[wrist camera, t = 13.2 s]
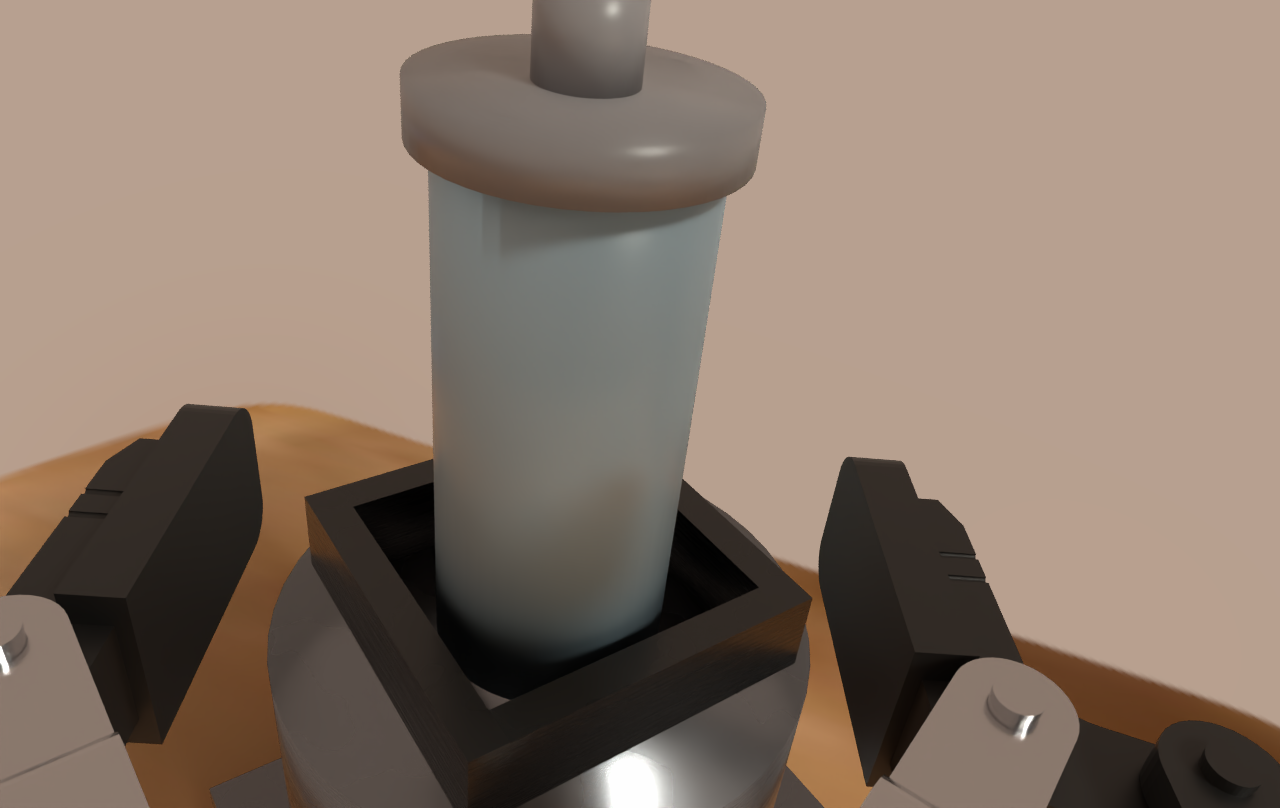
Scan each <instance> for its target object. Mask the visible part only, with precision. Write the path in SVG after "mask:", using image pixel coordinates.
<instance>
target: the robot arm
mask: <svg viewBox="0 0 1280 808" xmlns="http://www.w3.org/2000/svg"><path fill="white" fill-rule="evenodd" d="M85 489H86V491H85V494H81V495H80V496H79V498H78V499H77V500H76V502H75V503H74V504H73V506H72V507H71V508H70V510H69V515H68V517H66V516H65V517H64V518H63V519H62V521H61V522H60V523H59V525H58V526H57V527H56V529H55V530H54V531H53V533H52V534H51V535H50V537H49V538H48V539H47V541H46V542H45V543H44V545H43V546H42V548H41V549H40V550H39V552H38V553H37V554H36V556H35V557H34V558H33V560H32V561H31V562H30V564H29V565H28V566H27V568H26V569H25V570H24V572H23V573H22V574H21V576H20V577H19V579H18V580H17V581H16V583H15V584H14V585H13V587H12V588H11V589H10V591H9V592H8V593H7V595H6V596H2V597H0V808H149V805H148V803H147V800H146V798H145V795H144V793H143V790H142V788H141V786H140V783H139V781H138V778H137V776H136V773H135V771H134V768H133V766H132V763H131V761H130V758H129V756H128V753H127V751H126V748H125V745H126V743H127V742H131V743H149V744H162V743H163V741H164V739H165V737H166V735H167V733H168V731H169V729H170V727H171V724H172V722H173V720H174V718H175V716H176V714H177V712H178V710H179V707H180V705H181V703H182V701H183V699H184V697H185V695H186V693H187V690H188V688H189V686H190V684H191V682H192V680H193V678H194V676H195V674H196V671H197V669H198V667H199V665H200V663H201V661H202V659H203V657H204V654H205V652H206V650H207V648H208V646H209V644H210V642H211V640H212V638H213V635H214V633H215V631H216V629H217V627H218V625H219V623H220V621H221V618H222V616H223V614H224V612H225V610H226V608H227V606H228V604H229V601H230V599H231V597H232V595H233V593H234V591H235V589H236V587H237V585H238V582H239V580H240V578H241V576H242V574H243V572H244V570H245V568H246V565H247V563H248V561H249V559H250V557H251V555H252V553H253V551H254V549H255V546H256V544H257V541H258V538H259V534H260V529H261V523H262V514H263V501H262V492H261V485H260V478H259V470H258V463H257V456H256V448H255V441H254V434H253V426H252V420H251V417H250V414H249V412H248V411H247V410H246V409H245V408H232V407H219V406H207V405H194V404H186V405H184V406H183V407H182V408H181V409H180V410H179V412H178V413H177V414H176V416H175V417H174V419H173V420H172V422H171V423H170V424H169V426H168V427H167V429H166V430H165V432H164V433H163V435H162V436H161V438H160V439H159V440H155V439H141V438H140V439H138V440H137V441H135V442H134V443H132V444H131V445H129V446H128V447H126V448H125V449H123V450H122V451H120V452H119V453H117V454H116V455H114V456H113V457H111V458H109V459H108V460H106V461H105V463H104V464H103V465H102V467H101V468H100V469H99V471H98V472H97V473H96V475H95V476H94V477H93V479H92V480H91V481H90V483H89V484H88V486H87V487H86V488H85ZM975 555H976V554H975V551H974V549H973V547H972V545H971V542H970V540H969V537H968V535H967V533H966V531H965V528H964V526H963V525H962V524H961V523H960V522H959V521H958V520H957V519H956V518H955V517H954V516H953V515H952V514H951V513H950V512H949V511H948V510H947V509H946V508H945V507H944V506H943V505H942V504H941V503H940V502H939V501H938V500H931V499H918V497H917V494H916V492H915V489H914V487H913V484H912V482H911V479H910V477H909V474H908V472H907V469H906V467H905V465H904V463H903V462H902V461H896V460H883V459H869V458H856V457H847V458H846V459H845V460H844V462H843V464H842V466H841V470H840V472H839V477H838V480H837V484H836V488H835V491H834V495H833V499H832V503H831V506H830V510H829V514H828V518H827V521H826V525H825V529H824V533H823V537H822V540H821V545H820V552H819V583H820V588H821V593H822V597H823V601H824V606H825V610H826V614H827V619H828V623H829V627H830V632H831V636H832V640H833V645H834V649H835V653H836V658H837V662H838V666H839V671H840V675H841V679H842V684H843V688H844V692H845V696H846V701H847V705H848V709H849V714H850V718H851V722H852V727H853V731H854V735H855V740H856V744H857V748H858V753H859V757H860V761H861V766H862V770H863V774H864V779H865V783H866V786H870V787H873V788H872V790H871V791H870V793H869V794H868V796H867V797H866V799H865V800H864V802H863V804H862V805H861V807H860V808H1280V765H1279V763H1278V762H1277V761H1276V760H1275V759H1274V758H1273V757H1272V756H1271V755H1269V754H1268V753H1267V752H1266V751H1265V750H1263V749H1262V748H1261V747H1260V746H1258V745H1257V744H1255V743H1254V742H1252V741H1251V740H1249V739H1248V738H1246V737H1244V736H1242V735H1241V734H1239V733H1237V732H1235V731H1233V730H1230V729H1228V728H1225V727H1223V726H1220V725H1216V724H1213V723H1209V722H1203V721H1190V720H1189V721H1181V722H1178V723H1175V724H1172V725H1171V726H1169V727H1168V728H1166V729H1165V730H1164V732H1163V733H1162V734H1161V736H1160V737H1159V739H1158V741H1157V742H1156V744H1152V743H1149V742H1146V741H1143V740H1140V739H1137V738H1134V737H1130V736H1127V735H1124V734H1121V733H1118V732H1115V731H1112V730H1109V729H1106V728H1103V727H1099V726H1097V725H1094V724H1091V723H1089V722H1086V721H1084V720H1082V719H1080V718H1078V715H1077V713H1076V710H1075V708H1074V706H1073V704H1072V703H1071V701H1070V700H1069V698H1068V697H1067V696H1066V694H1065V693H1064V692H1063V691H1062V690H1061V689H1060V688H1059V687H1058V686H1057V685H1056V684H1055V683H1054V682H1053V681H1051V680H1050V679H1049V678H1047V677H1046V676H1045V675H1043V674H1042V673H1040V672H1038V671H1036V670H1035V669H1033V668H1031V667H1028V666H1026V665H1024V664H1023V661H1022V659H1021V657H1020V654H1019V652H1018V650H1017V648H1016V645H1015V643H1014V641H1013V638H1012V636H1011V634H1010V631H1009V629H1008V627H1007V625H1006V622H1005V620H1004V618H1003V615H1002V613H1001V611H1000V609H999V606H998V604H997V602H996V599H995V597H994V595H993V593H992V590H991V588H990V586H989V583H986V582H985V578H986V577H985V574H984V572H983V570H982V567H981V565H980V563H979V561H978V560H976V559H975Z"/></svg>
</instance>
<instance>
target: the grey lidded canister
mask: <svg viewBox="0 0 1280 808" xmlns="http://www.w3.org/2000/svg"><path fill="white" fill-rule="evenodd" d="M650 4H651V0H533V3H532V29H531V34H515V35H494V36H482V37H475V38H466V39H460V40H455V41H450V42H445V43H442V44H438V45H434V46H431V47H429V48H426V49H423V50H421V51H419V52H417V53H415V54H413V55H412V56H411V57H409V58H408V59H407V60H406V61H405V62H404V63H403V65H402V67H401V70H400V93H401V94H400V96H401V127H402V140H403V144H404V147H405V148H406V150H407V152H408V153H409V155H410V156H411V157H412V158H413V159H415V161H416V162H418V163H419V164H420V165H422V166H423V167H424V168H426V169H427V170H428V183H429V184H428V185H429V238H430V239H429V240H430V241H429V242H430V293H431V294H430V297H431V352H432V402H433V403H432V404H433V405H432V407H433V462H434V517H435V572H436V626H437V632H438V635H439V636H440V638H441V639H442V641H443V642H444V644H445V645H446V647H447V648H448V650H449V651H450V653H451V654H452V656H453V657H454V659H455V660H456V662H457V663H458V665H459V666H460V668H461V669H462V671H463V672H464V674H465V675H466V677H467V678H468V680H470V681H471V682H472V683H474V684H475V685H477V686H479V687H480V688H482V689H484V690H486V691H488V692H490V693H492V694H495V695H497V696H500V697H502V698H505V699H509V700H512V699H514V698H516V697H519V696H521V695H523V694H525V693H527V692H530V691H532V690H534V689H536V688H539V687H541V686H543V685H545V684H547V683H550V682H552V681H554V680H556V679H558V678H561V677H563V676H565V675H567V674H569V673H572V672H574V671H576V670H578V669H580V668H583V667H585V666H587V665H589V664H592V663H594V662H596V661H598V660H600V659H603V658H605V657H607V656H609V655H611V654H614V653H616V652H618V651H620V650H622V649H625V648H627V647H629V646H631V645H634V644H636V643H638V642H640V641H642V640H645V639H647V638H649V637H651V636H653V635H656V634H658V631H659V624H660V618H661V612H662V605H663V599H664V593H665V586H666V580H667V573H668V567H669V561H670V554H671V548H672V541H673V535H674V529H675V522H676V516H677V509H678V503H679V497H680V490H681V484H682V477H683V471H684V464H685V458H686V451H687V446H688V439H689V433H690V426H691V420H692V413H693V407H694V401H695V394H696V388H697V382H698V375H699V369H700V363H701V356H702V350H703V343H704V337H705V330H706V324H707V318H708V311H709V305H710V299H711V291H712V285H713V279H714V273H715V266H716V260H717V254H718V248H719V241H720V235H721V228H722V222H723V215H724V209H725V202H726V196H727V195H729V194H732V193H734V192H736V191H737V190H739V189H740V188H742V187H743V186H745V184H747V183H748V181H749V180H750V179H751V178H752V177H753V175H754V172H755V170H756V164H757V158H758V153H759V147H760V141H761V135H762V129H763V123H764V117H765V111H766V101H765V98H764V96H763V94H762V93H761V92H760V91H759V90H758V88H756V87H755V86H754V85H753V84H751V83H750V82H749V81H747V80H746V79H744V78H742V77H741V76H739V75H737V74H735V73H733V72H731V71H729V70H727V69H725V68H723V67H720V66H717V65H715V64H713V63H710V62H707V61H704V60H701V59H698V58H695V57H691V56H688V55H685V54H681V53H678V52H673V51H669V50H665V49H661V48H656V47H651V46H646V44H647V35H648V24H649V15H650Z"/></svg>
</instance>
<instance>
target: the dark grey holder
mask: <svg viewBox="0 0 1280 808" xmlns="http://www.w3.org/2000/svg"><path fill="white" fill-rule="evenodd" d="M305 506H306V516H307V525H308V534H309V543H310V547H309V548H308V549H307V551H306V552H305V553H304V554H303V555H302V557H301V558H300V559H299V560H298V562H297V563H296V565H295V567H294V568H293V570H292V572H291V573H290V575H289V577H288V578H287V580H286V582H285V583H284V585H283V588H282V590H281V593H280V595H279V598H278V600H277V603H276V605H275V608H274V611H273V616H272V620H271V625H270V630H269V634H268V657H267V665H268V672H269V678H270V685H271V691H272V698H273V704H274V711H275V718H276V724H277V731H278V737H279V744H280V750H281V757H282V758H280V759H278V760H275V761H273V762H271V763H268V764H266V765H264V766H261V767H259V768H257V769H254V770H252V771H250V772H247V773H245V774H243V775H240V776H238V777H236V778H233V779H231V780H229V781H226V782H224V783H222V784H219V785H217V786H215V787H212V788H210V789H209V790H210V794H211V799H212V803H213V808H824V807H823V806H822V805H821V804H820V802H819V801H818V800H817V799H816V798H815V797H814V796H813V795H812V794H811V792H810V791H809V790H808V789H807V788H806V787H805V786H804V785H803V784H802V782H801V781H800V780H799V779H798V778H797V777H796V776H795V775H794V774H793V772H792V771H791V770H790V769H789V768H788V767H787V766H786V763H787V760H788V756H789V753H790V749H791V746H792V742H793V739H794V735H795V732H796V728H797V725H798V721H799V718H800V714H801V711H802V707H803V704H804V700H805V697H806V693H807V686H808V679H809V671H810V652H809V638H808V633H807V629H806V620H807V616H808V612H809V609H810V605H811V601H812V597H811V596H809V595H808V594H807V593H806V592H805V591H804V590H803V589H802V588H801V587H800V586H799V585H798V584H796V583H795V582H794V581H793V580H792V579H791V578H790V577H789V576H788V575H787V574H786V573H784V572H783V571H782V569H781V568H780V567H779V565H778V564H777V563H776V561H775V560H774V559H773V557H772V556H771V555H770V553H769V552H768V551H767V549H766V548H765V547H764V546H763V545H762V544H761V543H760V542H759V541H758V540H757V539H756V538H755V537H754V536H753V535H752V534H751V533H750V532H749V531H748V530H747V529H745V528H744V527H743V526H742V525H741V524H739V523H738V522H737V521H736V520H735V519H733V518H732V517H731V516H730V515H728V514H727V513H726V512H724V511H723V510H721V509H719V508H718V507H716V506H715V505H713V504H712V503H710V502H709V501H707V500H706V499H704V498H703V497H702V496H701V495H700V494H699V493H697V492H696V491H695V490H694V489H693V488H692V487H691V486H690V485H689V484H688V483H687V482H686V481H684V480H683V479H682V484H681V490H680V497H679V503H678V509H677V516H676V522H675V529H674V535H673V541H672V548H671V554H670V561H669V567H668V573H667V580H666V586H665V593H664V599H663V605H662V612H661V618H660V624H659V631H658V634H656V635H653V636H651V637H649V638H647V639H645V640H642V641H640V642H638V643H636V644H634V645H631V646H629V647H627V648H625V649H622V650H620V651H618V652H616V653H614V654H611V655H609V656H607V657H605V658H603V659H600V660H598V661H596V662H594V663H592V664H589V665H587V666H585V667H583V668H580V669H578V670H576V671H574V672H572V673H569V674H567V675H565V676H563V677H561V678H558V679H556V680H554V681H552V682H550V683H547V684H545V685H543V686H541V687H539V688H536V689H534V690H532V691H530V692H527V693H525V694H523V695H521V696H519V697H516V698H514V699H512V700H509V699H505V698H502V697H500V696H497V695H495V694H492V693H490V692H488V691H486V690H484V689H482V688H480V687H479V686H477V685H475V684H474V683H472V682H471V681H470V680H468V678H467V677H466V675H465V674H464V672H463V671H462V669H461V668H460V666H459V665H458V663H457V662H456V660H455V659H454V657H453V656H452V654H451V653H450V651H449V650H448V648H447V647H446V645H445V644H444V642H443V641H442V639H441V638H440V636H439V635H438V632H437V626H436V572H435V517H434V462H433V459H432V460H428V461H425V462H421V463H418V464H415V465H411V466H408V467H404V468H401V469H398V470H394V471H391V472H387V473H384V474H381V475H377V476H374V477H371V478H367V479H364V480H360V481H357V482H354V483H350V484H347V485H343V486H340V487H337V488H333V489H330V490H327V491H323V492H320V493H316V494H313V495H310V496H306V497H305Z"/></svg>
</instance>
